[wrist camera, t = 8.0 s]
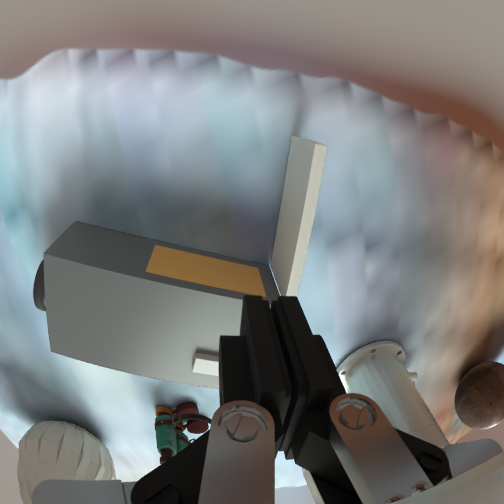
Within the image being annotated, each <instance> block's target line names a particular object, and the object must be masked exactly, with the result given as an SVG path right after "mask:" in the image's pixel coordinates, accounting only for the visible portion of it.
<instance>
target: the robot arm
mask: <svg viewBox="0 0 504 504" xmlns="http://www.w3.org/2000/svg"><path fill="white" fill-rule="evenodd" d="M405 360H406V355H405V352H404V350H403V348H402V347H401V346H400V345H399V344H398V343H396V342H394V341H387V340H385V341H378V342H374V343H371V344H368V345H365V346H363V347H361V348H360V349H358V350H356V351H355V352H353V353H352V354H350V355H349V356H348V357H347V358H346V359H345V360H344V361H343V362H342V363H341V364H340V365H339V367H338V368H337V369H336V367H335V365H334V363H333V360H332V358H331V356H330V353H329V351H328V349H327V347H326V344H325V342H324V340H323V338H322V337H321V336H320V335H313V334H312V332H311V329H310V327H309V324H308V322H307V320H306V317H305V315H304V313H303V310H302V308H301V305H300V303H299V301H298V298H297V297H296V296H279V297H278V299H277V300H272V303H271V309H270V305H269V302H268V300H263V299H262V296H261V295H244V297H243V305H242V315H241V325H240V335H239V336H230V335H220V338H219V396H220V407H219V408H218V409H217V410H216V412H215V413H214V415H213V418H212V421H211V427H210V429H209V430H208V431H207V432H205V433H204V434H203V435H202V436H200V437H199V438H198V439H196V440H195V441H194V442H192V443H191V444H189V445H188V446H187V447H185V448H184V449H183V450H181V451H180V452H178V453H177V454H176V455H174V456H173V457H171V458H170V459H169V460H167V461H166V462H164V463H163V464H161V465H160V466H158V467H157V468H156V469H154V470H153V471H151V472H150V473H148V474H147V475H145V476H144V477H142V478H141V479H140V480H139V481H136V482H122V481H121V480H59V479H50V480H44V481H42V482H40V483H39V484H37V486H36V487H35V489H34V490H33V494H32V504H275V458H276V455H277V453H278V451H284V454H285V458H286V460H289V459H294V461H295V464H297V465H299V466H301V467H302V472H303V476H304V478H305V480H306V482H307V485H308V487H309V489H310V491H311V494H312V496H313V498H314V500H315V502H316V504H504V452H503V449H502V448H501V446H500V444H499V443H497V442H496V441H495V440H492V439H481V440H475V441H469V442H463V443H456V444H449V442H448V440H447V439H446V437H445V435H444V434H443V432H442V430H441V429H440V427H439V425H438V423H437V422H436V420H435V418H434V417H433V415H432V413H431V412H430V410H429V408H428V407H427V405H426V403H425V402H424V400H423V398H422V397H421V395H420V394H419V392H418V390H417V389H416V387H415V382H414V381H411V380H415V379H417V373H416V372H408V370H407V369H406V367H405V366H404V364H405Z"/></svg>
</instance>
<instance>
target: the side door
mask: <svg viewBox="0 0 504 504" xmlns="http://www.w3.org/2000/svg"><path fill="white" fill-rule="evenodd" d="M326 151H327V146H326V145H323V144H320V143H317V142H315V141H312V140H309V139H306V138H303V137H297V136H292V137H291V143H290V150H289V156H288V162H287V169H286V175H285V181H284V188H283V194H282V200H281V206H280V212H279V218H278V224H277V230H276V236H275V242H274V248H273V254H272V260H271V269H272V272H273V274H274V277H275V280H276V283H277V285H278V288H279V291H280V294H281V296H296V297H297V294H298V289H299V285H300V281H301V276H302V272H303V267H304V263H305V258H306V254H307V249H308V244H309V240H310V235H311V230H312V225H313V220H314V215H315V210H316V205H317V200H318V195H319V190H320V185H321V179H322V174H323V168H324V163H325V157H326Z"/></svg>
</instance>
